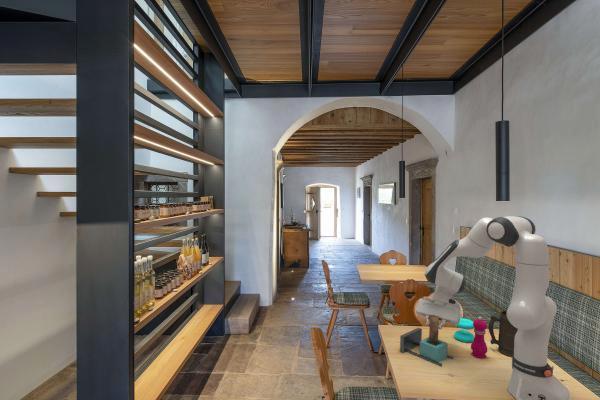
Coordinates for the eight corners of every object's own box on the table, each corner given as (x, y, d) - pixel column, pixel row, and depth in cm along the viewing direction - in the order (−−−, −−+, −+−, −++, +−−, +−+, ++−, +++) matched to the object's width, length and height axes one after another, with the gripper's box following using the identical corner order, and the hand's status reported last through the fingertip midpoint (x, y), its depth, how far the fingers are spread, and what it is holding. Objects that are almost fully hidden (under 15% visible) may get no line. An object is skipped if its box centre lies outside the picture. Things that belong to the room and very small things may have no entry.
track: (455, 359, 168) (456, 340, 168) (438, 370, 158) (439, 350, 157) (417, 344, 183) (418, 327, 183) (399, 353, 173) (400, 335, 173)
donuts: (451, 317, 196) (469, 317, 195) (451, 334, 196) (469, 335, 196) (459, 324, 186) (478, 324, 185) (458, 342, 186) (477, 343, 186)
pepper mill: (489, 361, 166) (490, 320, 165) (472, 360, 168) (474, 318, 167) (484, 354, 173) (485, 314, 172) (468, 353, 175) (470, 313, 174)
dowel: (439, 341, 168) (440, 316, 167) (435, 344, 165) (436, 318, 165) (431, 338, 171) (432, 314, 170) (427, 340, 168) (428, 316, 168)
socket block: (446, 357, 168) (447, 343, 167) (437, 363, 162) (437, 348, 162) (429, 350, 174) (429, 336, 174) (419, 356, 169) (419, 341, 168)
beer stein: (517, 348, 181) (516, 309, 180) (529, 358, 170) (527, 317, 169) (486, 348, 182) (484, 310, 182) (495, 358, 172) (494, 317, 171)
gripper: (418, 293, 179) (410, 317, 172) (461, 302, 166) (454, 329, 159) (421, 300, 183) (413, 324, 176) (464, 309, 170) (457, 336, 163)
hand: (433, 326), depth 167 cm, fingers closed on dowel, 4 cm apart
